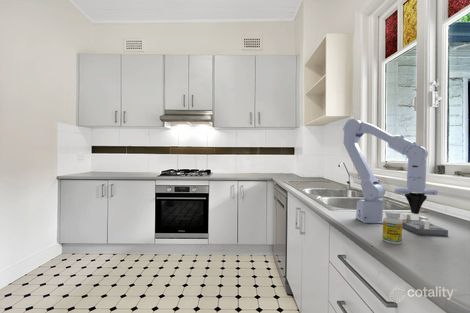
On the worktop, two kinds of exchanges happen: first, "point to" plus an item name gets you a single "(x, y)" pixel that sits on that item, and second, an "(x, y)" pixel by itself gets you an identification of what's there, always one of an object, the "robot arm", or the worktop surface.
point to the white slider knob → (422, 218)
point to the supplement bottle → (392, 228)
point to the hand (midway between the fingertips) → (414, 213)
